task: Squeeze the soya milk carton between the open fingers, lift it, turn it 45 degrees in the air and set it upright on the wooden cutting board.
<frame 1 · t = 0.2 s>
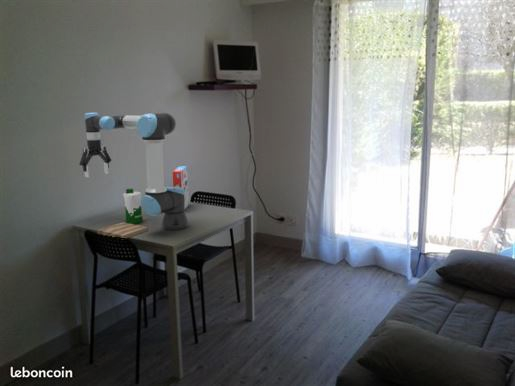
hand: (97, 175, 266), 28 cm above the table, fingers open, 13 cm apart
wooden cutting board: (122, 232, 248), on the table
soya milk: (134, 222, 267), on the table
game box: (182, 209, 298), on the table
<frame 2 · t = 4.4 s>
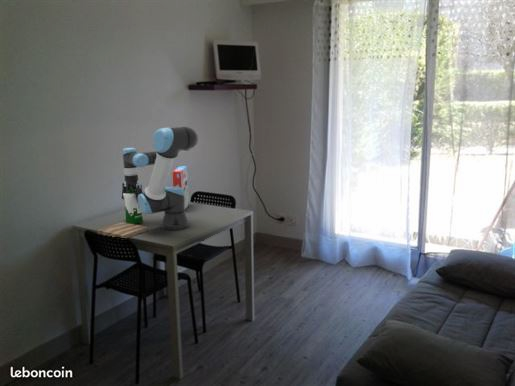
hand: (133, 211, 266), 6 cm above the table, fingers closed on soya milk, 9 cm apart
soya milk: (134, 222, 267), on the table, touching gripper
everything else where it was.
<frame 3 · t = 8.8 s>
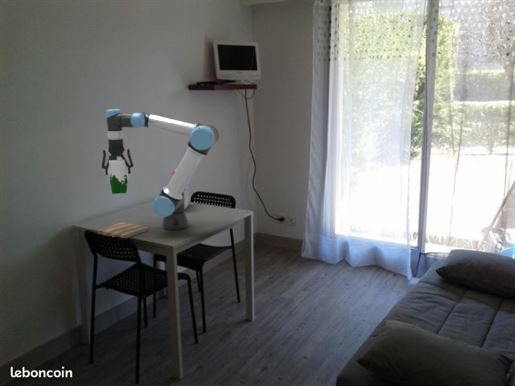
hand: (118, 180, 242), 29 cm above the table, fingers closed on soya milk, 9 cm apart
soya milk: (119, 192, 244), point 22 cm above the table, touching gripper
everything else where it was.
when the fingers open (10 cm above the table, at t = 13.2 s): soya milk drops 1 cm, resting on wooden cutting board.
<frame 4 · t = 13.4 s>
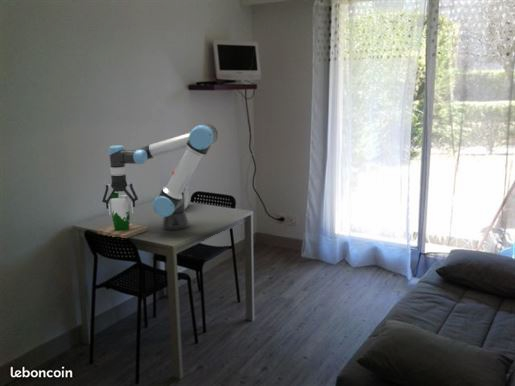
hand: (121, 213, 246), 11 cm above the table, fingers open, 11 cm apart
soya milk: (122, 228, 248), point 2 cm above the table, touching wooden cutting board
everything else where it was.
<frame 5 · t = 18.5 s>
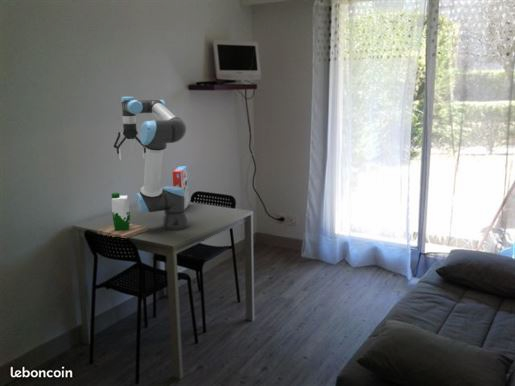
hand: (132, 158, 270), 37 cm above the table, fingers open, 13 cm apart
nothing on the table moved.
at the end: soya milk inside the target area on the wooden cutting board (0.1 cm from its centre), point 1.8 cm above the wooden cutting board's base; soya milk tilted 0°; the gripper is holding nothing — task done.
